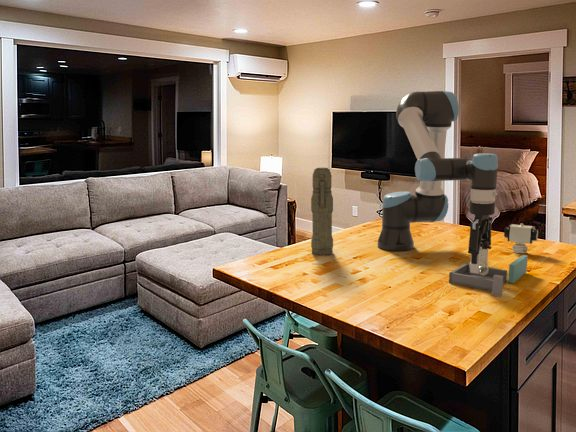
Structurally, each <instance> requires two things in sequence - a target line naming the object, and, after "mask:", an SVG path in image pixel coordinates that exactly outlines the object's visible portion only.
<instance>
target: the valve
mask: <svg viewBox="0 0 576 432" xmlns="http://www.w3.org/2000/svg"><path fill="white" fill-rule="evenodd" d="M486 242H488V243H491V244H492V239H491V240H490V238H485V237H482V239H481V245H480V250H479V254H480V265H479V274H480V275H482V276H484V275H486V274H488V270H489V268H488V267H489V266H488V265H487V266H485V264H484V263H483V261H484V257H483V255H481V254H483V249H482V247H483V246H484V244H486ZM468 264H469V268H470V263H468Z"/></svg>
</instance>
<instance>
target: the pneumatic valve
mask: <svg viewBox="0 0 576 432" xmlns="http://www.w3.org/2000/svg"><path fill="white" fill-rule="evenodd" d="M503 236H504V238H505V239H506V240H507V242H513V243H514V244H513V245H512V251H513V253H515V254H520V255H521V254H522V255H524V254H525V253H528V249H529V248H528V246H527V245H526V244H529V245H532V244H533V242H535V241H536V242H537V241H538V237H539V230H538V229H536V227H535V226H534V225H533V226H532V225H525V224H524V223H520V224H513V223H511V224H509V225H508V226H506V227H504V235H503Z"/></svg>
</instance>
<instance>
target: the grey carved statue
mask: <svg viewBox="0 0 576 432" xmlns="http://www.w3.org/2000/svg"><path fill="white" fill-rule="evenodd" d="M332 193H333V192H332V172H331V169H330V168H328V167H316V168H315V169H313V173H312V194H311V197H310V209H311V210H310V212H311V215H312V217H311V218H312V235H311V239H310V240H311V241H310V242H311V244H310V246H311V255H314V256H322V257H323V256H330V255H333V254H334V251H333V249H334V238H333V223H332V222H333V211H334V197H333V194H332Z"/></svg>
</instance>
